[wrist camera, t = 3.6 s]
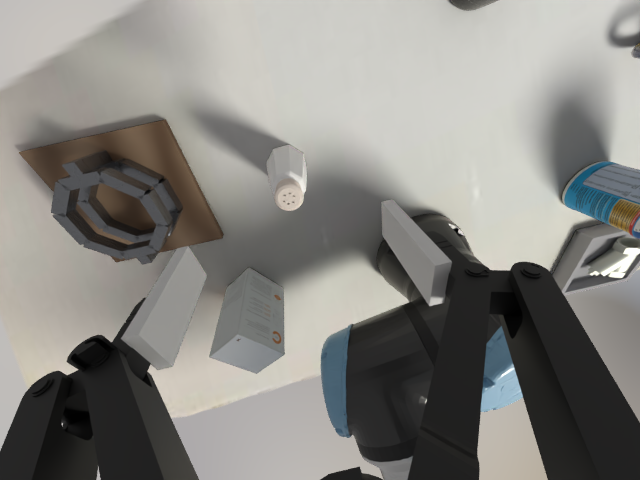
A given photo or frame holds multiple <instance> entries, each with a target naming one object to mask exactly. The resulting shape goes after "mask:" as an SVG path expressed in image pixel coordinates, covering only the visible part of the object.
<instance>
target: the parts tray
mask: <svg viewBox="0 0 640 480" xmlns="http://www.w3.org/2000/svg"><path fill="white" fill-rule="evenodd" d="M620 237H629V238H635V237H633V236H631V235H630V234H629V233H627V232H625V231H622V230H620V229H618V228H616V227H613V226H611V225H609V224H606V223H604V224H599V225H595V226H591V227H586V228H582V229H578V230H576V231H575V233H574V235H573V237H572V239H571V241H570V242H569V244H568V246H567V248H566V250H565V252H564V254H563V256H562V258H561V259H560V261H559V263H558V265H557V267H556V269H555V271H554V273H553V275H552V276H553V278H554V279H555V281H556V283H557V284H558V286H559V288H560V289H561V291H562V293H563V295H568V294H572V293H577V292H581V291H585V290H590V289H593V288H598V287H602V286H607V285H611V284H615V283H619V282H624V281H628V280H629V278H630V277H631V276H632V275H633V273H634V272H635V271H636V270H637V268H638V267H639V266H640V253H639V254H638V255H637V257H636V258H635V260H634V261H633V263H632V264H631V265H630V267H629V269H628V271H627V272H626V273H625V275H624V276H623V278H615V277H609V276H607V275H606V276H603V275H601V274H599V275H597V276H596V275H595V274H594V275H592V276H591V275H590V274H588V273H587V272H589V270H587V269H589V268H590V267H589V266H588V265H587V264H588V263H590V262H592V261H593V260H595V259H596V258H598V257H599V256H601V255H602V254H604V253H605V252H607V251H608V250H610V249H611V248H612V247H613V245H614V243H615V242H616V241H617V239H618V238H620ZM635 239H637V238H635ZM638 240H640V239H638Z"/></svg>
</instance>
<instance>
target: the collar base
mask: <svg viewBox="0 0 640 480" xmlns="http://www.w3.org/2000/svg"><path fill="white" fill-rule="evenodd" d="M104 150H106V151H107V152H108V154H109V155H110V157H111V158H112V160H113V161H114V160H118V159H123V158H125V160H127V159H130V160H132V161H134V162H136V163H138V164H140V165H142V166H144V167H147V168H149V169H151V170H153V171H155V172H157V173H159V174H161V175H163V176H164V179H168V181H169V183H170V185H171V186H172V188H173V190H174V192H175V193H176V195H177V197H178V198H179V200H180V202H181V204H182V205H183V207H182V209H183V211H182V213H181V215H180V218H179V220H178V222H177V225H176V227H175V229H174V231H173V232H172V234H171V235H170V236H169V237H168V238H166V239H167V242H166V243H165V245H164V246H163V247H162V249H161V250H160V251H159V253H160V252H164V251H168V250H173V249H177V248H181V247H186V246H190V245H195V244H199V243H203V242H208V241H212V240H217V239H221V238H222V237H223V233H222V231H221V229H220V227H219V225H218V223H217V221H216V219H215V217H214V215H213V213H212V211H211V209H210V207H209V205H208V203H207V201H206V199H205V197H204V195H203V193H202V191H201V189H200V187H199V185H198V183H197V181H196V179H195V177H194V175H193V173H192V171H191V169H190V167H189V165H188V163H187V161H186V159H185V157H184V155H183V153H182V151H181V149H180V147H179V145H178V143H177V141H176V139H175V137H174V135H173V133H172V131H171V129H170V127H169V125H168V123H167V121H166V120H161V121H156V122H152V123H147V124H143V125H138V126H134V127H129V128H125V129H120V130H116V131H111V132H107V133H102V134H98V135H93V136H89V137H84V138H80V139H75V140H71V141H66V142H62V143H57V144H53V145H48V146H44V147H39V148H35V149H30V150H26V151H22V152H19V154H20V155H21V156H22V157H23V158H24V159H25V160H26V161H27V163H28V164H29V165H30V166H31V167H32V168H33V169H34V170H35V172H36V173H37V174H38V175H39V176H40V177H41V178H42V179H43V181H44V182H45V183H46V184H47V185H48V186H49V187H50V188H51V190H52V191H53V192H54V189H55V182H57V181H58V180H59V179H61V178H63V177H66V176H68V175H69V174H68V172H67V171H66V170H65V169H64V167H63V166H62V165H63V164H66V163H68V162H71V161H74V160H76V159H79V158H82V157H85V156H87V155H90V154H93V153H95V152H100V151H104ZM152 189H154V187H152V186H151V189H150V190H152ZM96 198H97V199H98V200H99V201H100V203H101V204H102V205H103V207H104V208H105V209H106V210H107V212H108V213H109V214H110V215H111V217H112V218H113V219H114V220H116V221H119V222H121V223H124V224H126V225H129V226H132V227H134V228H137V229H140V230H146V229H150V228H155V227H156V223H155V222H154V221H153V219H152V218H151V216H150V215H149V213H148V212H147V210H146V209H145V207H144V206H143V204H142V203H141V201H140V200H139V199H138V198H135V197H133V196H131V195H128V194H126V193H124V192H121V191H119V190H117V189H114V188H112V187H110V186H107V185H105V184H103V183H102V184H99V187H98V191H97V195H96ZM160 199H161V198H160ZM77 201H79V200H77ZM165 207H166V206H165ZM76 210H77V211H78V213H79V214H80V215H81V216H82V217H83V218H84V219H85V221H86V222H87V223H88V224H89V225H90V226H91V228H92V229H93V230H94V231H95V232H96V233H97V234H99V235H102V236H105V237H108V238H111V239H114V240H116V241H119V242H122V243H125V244H128V245H129V244H134V242H131V241H128V240H125V239H122V238H120V237H117V236H114V235H111V234H108V233H106V232H103V229H99V228H98V227H97V226H96V225H95V224H94V222H93V221H92V220H91V219H90V218H89V217H88V215H87V214H86V213H85V212H84V211H83V210H82V208H81V207H80V206H79V205H78V204H77V205H76ZM111 257H112V258H113V259H114V261H115V262H120V261H124V260H125V258H123V259H119V258H116V257H113V256H111ZM136 258H137V257H136ZM131 259H133V258H131ZM127 260H129V259H127Z"/></svg>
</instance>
